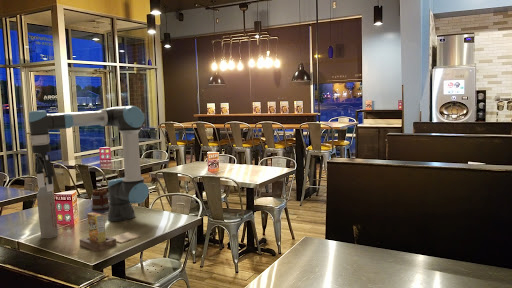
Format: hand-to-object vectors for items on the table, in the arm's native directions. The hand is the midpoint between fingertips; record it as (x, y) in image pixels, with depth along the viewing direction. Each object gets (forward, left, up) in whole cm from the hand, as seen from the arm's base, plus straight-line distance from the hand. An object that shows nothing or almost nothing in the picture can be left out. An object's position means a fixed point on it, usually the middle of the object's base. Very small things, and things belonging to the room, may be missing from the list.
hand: (45, 189), depth 197 cm
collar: (-14, +17, -28) cm, 36 cm away
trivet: (-27, +19, -28) cm, 43 cm away
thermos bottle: (-8, -19, -28) cm, 35 cm away
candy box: (-14, +17, -29) cm, 36 cm away
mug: (-54, -46, -29) cm, 76 cm away
